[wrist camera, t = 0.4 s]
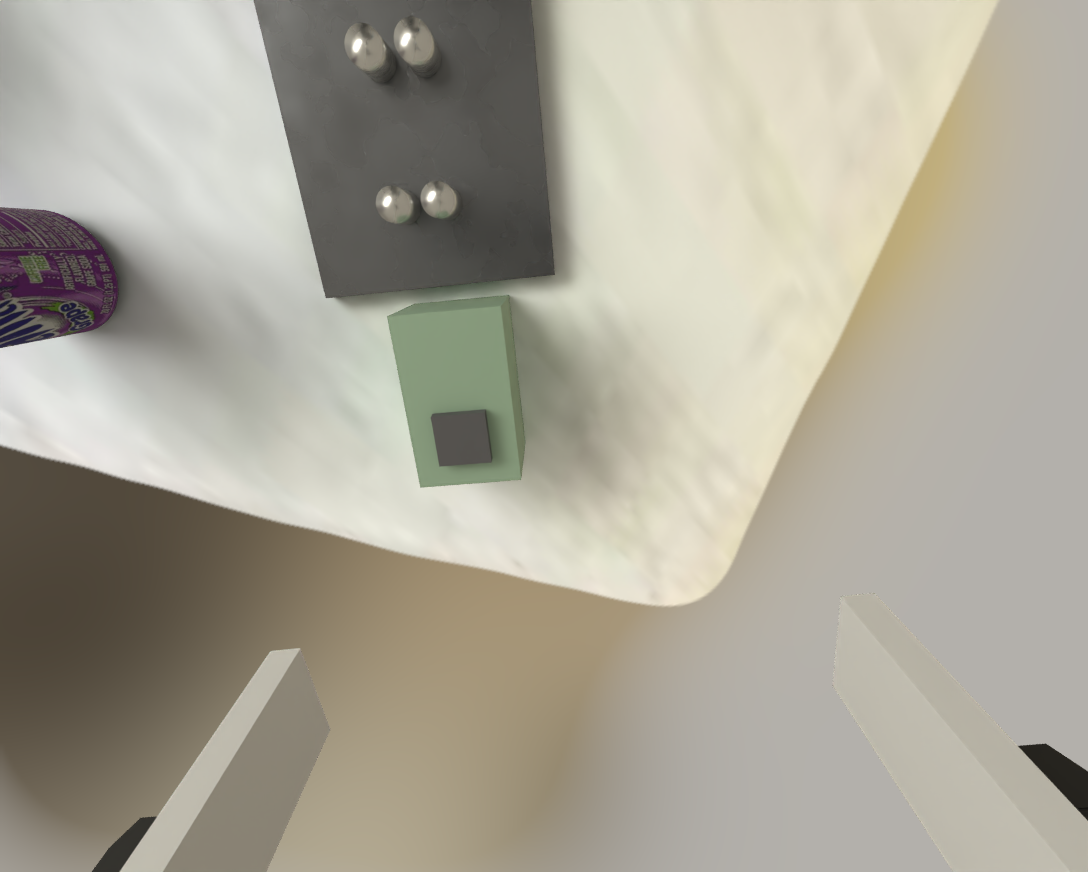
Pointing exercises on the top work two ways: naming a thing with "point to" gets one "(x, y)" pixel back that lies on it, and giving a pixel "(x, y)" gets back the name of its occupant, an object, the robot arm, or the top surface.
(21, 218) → the beverage can
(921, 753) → the robot arm
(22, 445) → the top surface
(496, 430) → the green block
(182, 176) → the top surface
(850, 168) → the top surface
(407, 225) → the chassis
